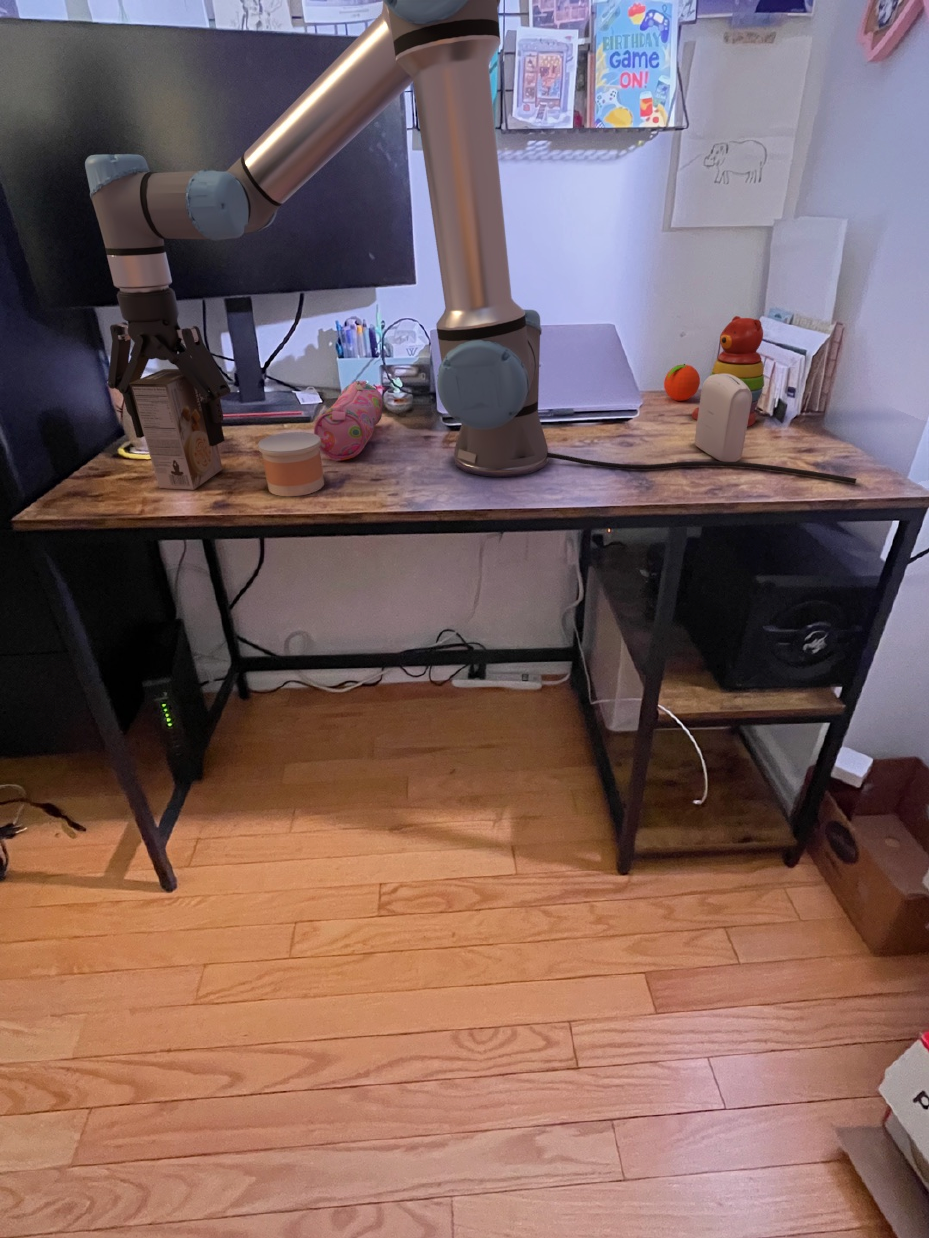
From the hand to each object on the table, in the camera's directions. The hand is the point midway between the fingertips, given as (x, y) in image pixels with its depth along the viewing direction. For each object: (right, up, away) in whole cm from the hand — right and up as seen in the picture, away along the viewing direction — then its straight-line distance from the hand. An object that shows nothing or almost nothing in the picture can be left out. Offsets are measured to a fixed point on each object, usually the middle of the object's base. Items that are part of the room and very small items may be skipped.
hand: (180, 439), depth 108 cm
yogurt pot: (+18, -7, 0) cm, 19 cm away
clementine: (+87, +16, +34) cm, 95 cm away
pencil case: (+24, +3, +17) cm, 30 cm away
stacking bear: (+93, +9, +22) cm, 96 cm away
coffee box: (0, -6, +3) cm, 7 cm away
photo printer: (+85, -1, +7) cm, 86 cm away
